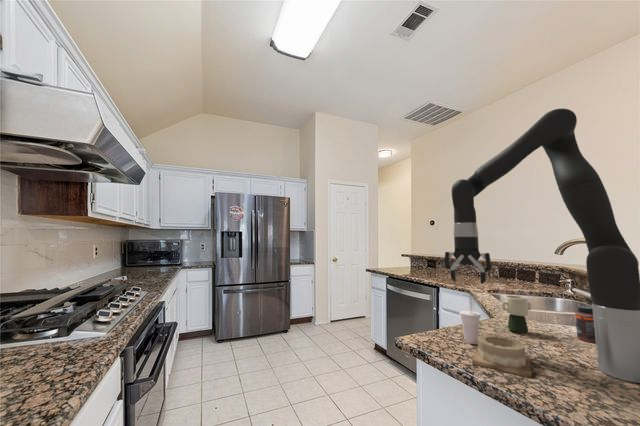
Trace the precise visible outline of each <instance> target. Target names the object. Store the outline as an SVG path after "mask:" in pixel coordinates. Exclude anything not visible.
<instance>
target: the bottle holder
mask: <svg viewBox="0 0 640 426" xmlns="http://www.w3.org/2000/svg"><path fill="white" fill-rule="evenodd" d="M477 342H478V343H477V347H476V349H475V352H474V354H473V357H472V360H471V361H472V365H475V366H480V367H485V368H489V369H493V370H497V371H501V372H506V373H509V374H514V375H519V376H522V377H524V378H525V377H526V378H530V379H532V370H531V360H530V356H529V355H527V354H526V350H525V344H524V343H522V342H520V341H519V340H517V339H513V338H510V337H507V336H501V335H496V334H481V335H478V339H477Z"/></svg>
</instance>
